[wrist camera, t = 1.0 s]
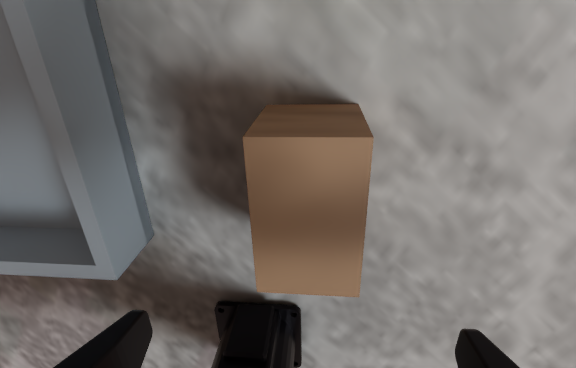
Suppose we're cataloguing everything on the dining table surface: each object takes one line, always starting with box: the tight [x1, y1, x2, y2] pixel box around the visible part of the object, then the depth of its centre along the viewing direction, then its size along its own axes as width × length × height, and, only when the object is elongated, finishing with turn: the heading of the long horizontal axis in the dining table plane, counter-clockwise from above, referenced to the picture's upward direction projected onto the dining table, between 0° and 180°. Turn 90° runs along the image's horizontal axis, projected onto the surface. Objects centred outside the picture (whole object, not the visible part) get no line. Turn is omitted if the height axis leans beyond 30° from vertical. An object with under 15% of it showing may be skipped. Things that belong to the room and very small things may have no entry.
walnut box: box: [243, 104, 374, 297], centre depth 17 cm, size 8×5×6 cm, turn 2°
